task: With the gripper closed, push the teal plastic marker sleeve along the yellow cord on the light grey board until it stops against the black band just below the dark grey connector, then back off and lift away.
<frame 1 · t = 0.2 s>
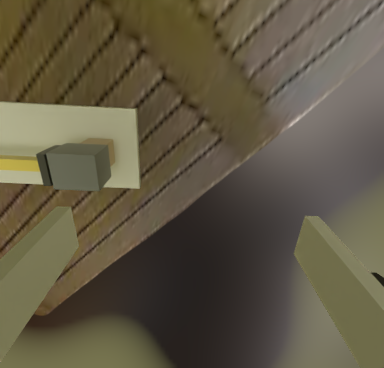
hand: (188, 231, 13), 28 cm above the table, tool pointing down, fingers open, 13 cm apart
cord rig: (18, 144, 39), on the table
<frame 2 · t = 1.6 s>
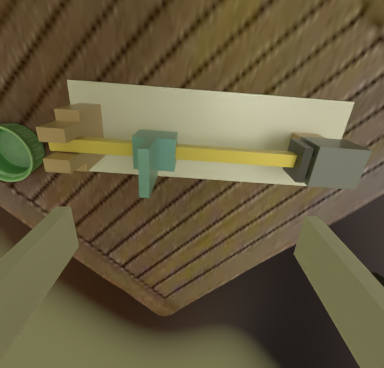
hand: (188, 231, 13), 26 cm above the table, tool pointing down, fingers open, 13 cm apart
ramekin: (22, 146, 38), on the table
cord rig: (207, 136, 37), on the table
sleeve: (152, 157, 26), point 12 cm above the table, slide at 0.0 cm
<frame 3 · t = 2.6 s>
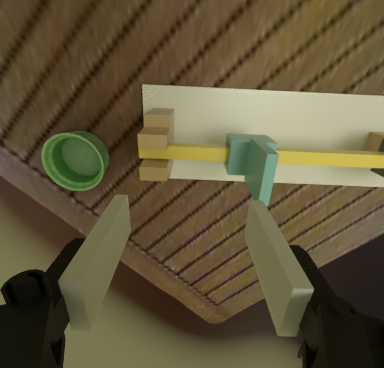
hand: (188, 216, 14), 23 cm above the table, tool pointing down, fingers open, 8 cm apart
ramekin: (86, 154, 37), on the table
cord rig: (279, 139, 36), on the table
sleeve: (253, 162, 25), point 12 cm above the table, slide at 0.0 cm
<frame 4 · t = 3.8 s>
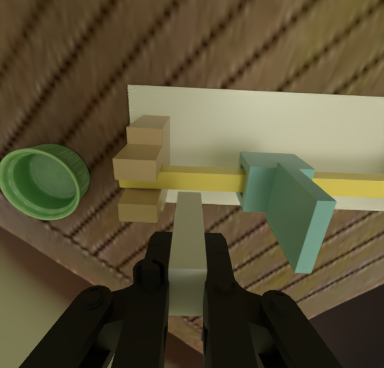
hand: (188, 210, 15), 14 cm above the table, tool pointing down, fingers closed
ramekin: (60, 172, 30), on the table
cord rig: (303, 153, 28), on the table
sleeve: (281, 197, 17), point 12 cm above the table, slide at 0.0 cm
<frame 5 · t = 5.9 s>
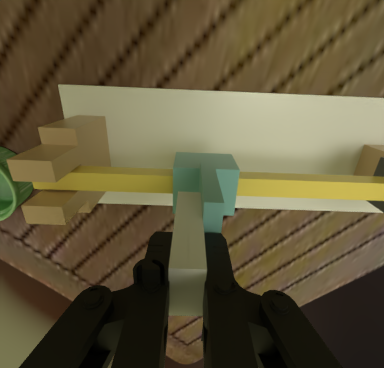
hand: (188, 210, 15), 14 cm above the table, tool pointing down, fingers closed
ramekin: (4, 173, 29), on the table
cord rig: (247, 153, 28), on the table
sleeve: (205, 198, 17), point 12 cm above the table, slide at 1.2 cm, touching gripper
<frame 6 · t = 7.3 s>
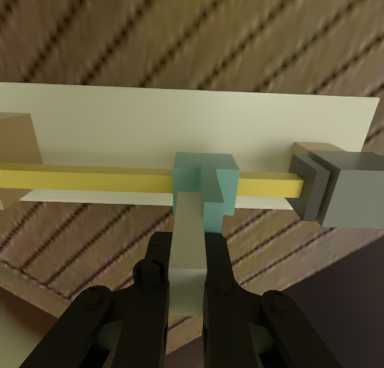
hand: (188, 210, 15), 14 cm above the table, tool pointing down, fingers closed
cord rig: (181, 151, 28), on the table
sleeve: (205, 198, 17), point 12 cm above the table, slide at 9.3 cm, touching gripper
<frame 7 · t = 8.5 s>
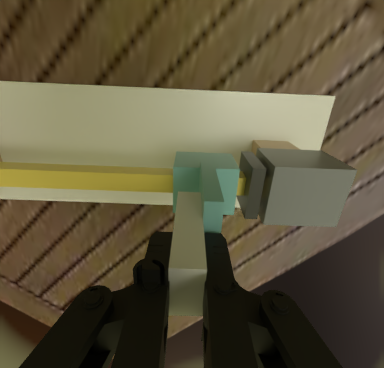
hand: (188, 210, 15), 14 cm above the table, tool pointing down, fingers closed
cord rig: (142, 149, 28), on the table
sleeve: (205, 198, 17), point 12 cm above the table, slide at 14.1 cm, touching gripper
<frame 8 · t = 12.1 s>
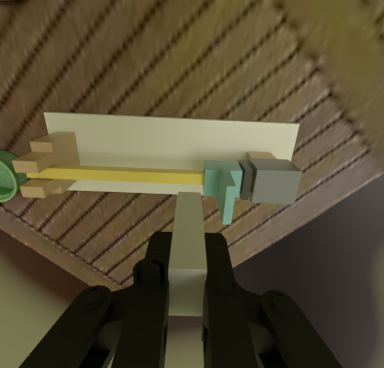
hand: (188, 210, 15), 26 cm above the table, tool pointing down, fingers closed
ramekin: (8, 169, 42), on the table
cord rig: (173, 156, 41), on the table
sleeve: (223, 187, 30), point 12 cm above the table, slide at 14.7 cm
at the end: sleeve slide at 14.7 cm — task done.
